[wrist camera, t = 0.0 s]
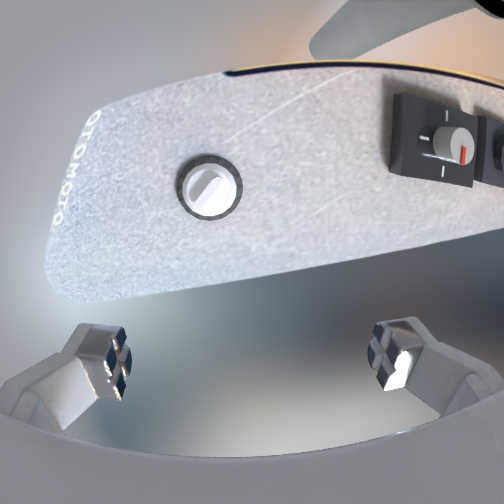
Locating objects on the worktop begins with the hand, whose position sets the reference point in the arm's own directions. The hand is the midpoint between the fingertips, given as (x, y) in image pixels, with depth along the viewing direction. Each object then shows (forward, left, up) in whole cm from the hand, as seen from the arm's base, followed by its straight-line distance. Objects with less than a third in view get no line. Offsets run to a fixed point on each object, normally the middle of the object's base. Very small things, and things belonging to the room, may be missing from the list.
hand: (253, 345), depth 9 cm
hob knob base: (-8, +25, -26) cm, 37 cm away
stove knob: (0, -3, -26) cm, 26 cm away
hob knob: (-8, +25, -22) cm, 35 cm away
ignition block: (-9, +40, -26) cm, 48 cm away
